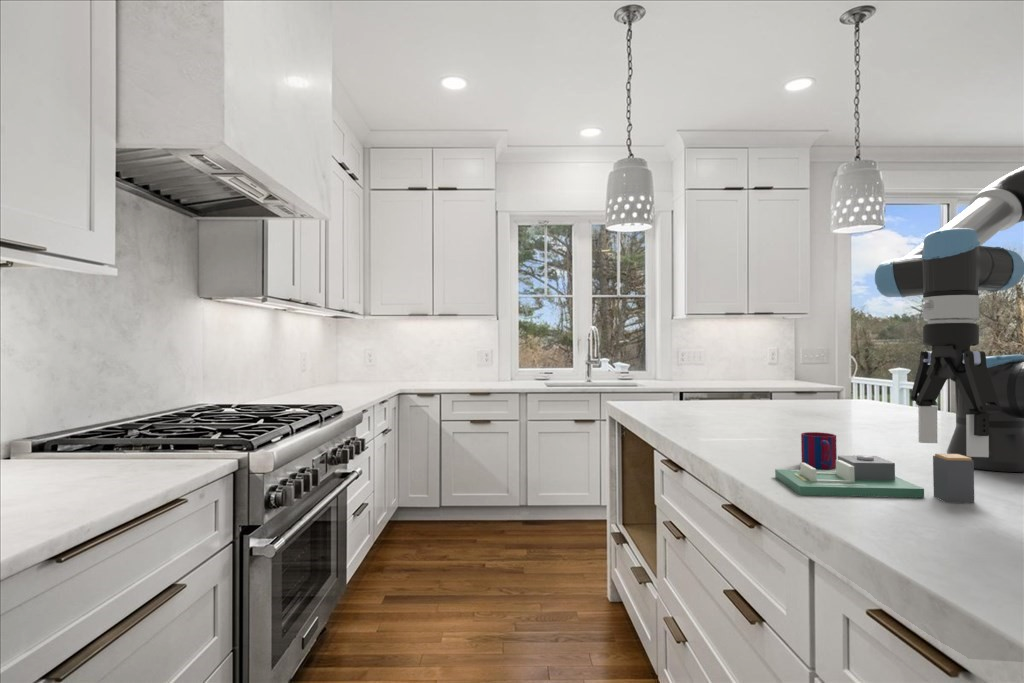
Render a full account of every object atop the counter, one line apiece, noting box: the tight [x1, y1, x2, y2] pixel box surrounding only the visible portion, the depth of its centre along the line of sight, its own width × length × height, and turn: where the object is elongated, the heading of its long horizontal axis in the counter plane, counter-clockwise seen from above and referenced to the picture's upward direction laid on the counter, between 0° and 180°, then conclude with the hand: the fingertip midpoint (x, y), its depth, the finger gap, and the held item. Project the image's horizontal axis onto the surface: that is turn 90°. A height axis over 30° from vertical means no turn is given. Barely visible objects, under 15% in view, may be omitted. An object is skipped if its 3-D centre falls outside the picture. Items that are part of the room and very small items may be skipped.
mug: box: [800, 431, 838, 470], centre depth 124 cm, size 7×10×7 cm
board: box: [774, 459, 925, 498], centre depth 108 cm, size 20×14×4 cm
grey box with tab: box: [837, 454, 896, 480], centre depth 110 cm, size 7×7×4 cm
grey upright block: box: [932, 453, 975, 504], centre depth 98 cm, size 4×4×7 cm
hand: (951, 449), depth 98 cm, fingers open, 13 cm apart
